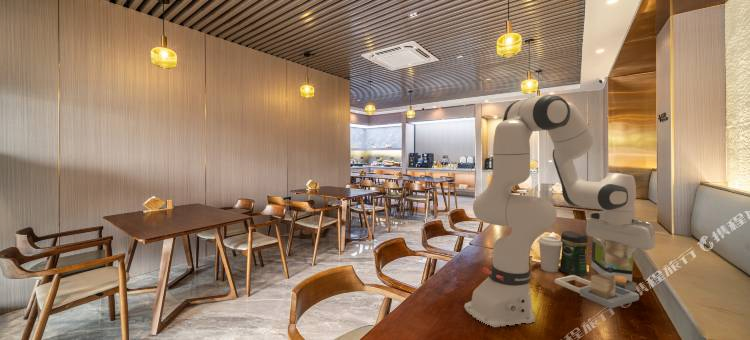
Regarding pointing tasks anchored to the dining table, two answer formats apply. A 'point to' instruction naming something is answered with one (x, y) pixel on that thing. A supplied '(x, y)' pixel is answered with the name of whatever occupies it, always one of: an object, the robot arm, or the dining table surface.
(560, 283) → the tray
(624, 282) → the button
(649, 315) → the dining table surface
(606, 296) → the seated block
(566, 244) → the coffee jar
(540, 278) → the dining table surface
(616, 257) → the block
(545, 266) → the coffee cup
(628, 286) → the dark grey square housing
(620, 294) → the grey hollow frame
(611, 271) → the tea box
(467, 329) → the dining table surface
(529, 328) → the dining table surface
